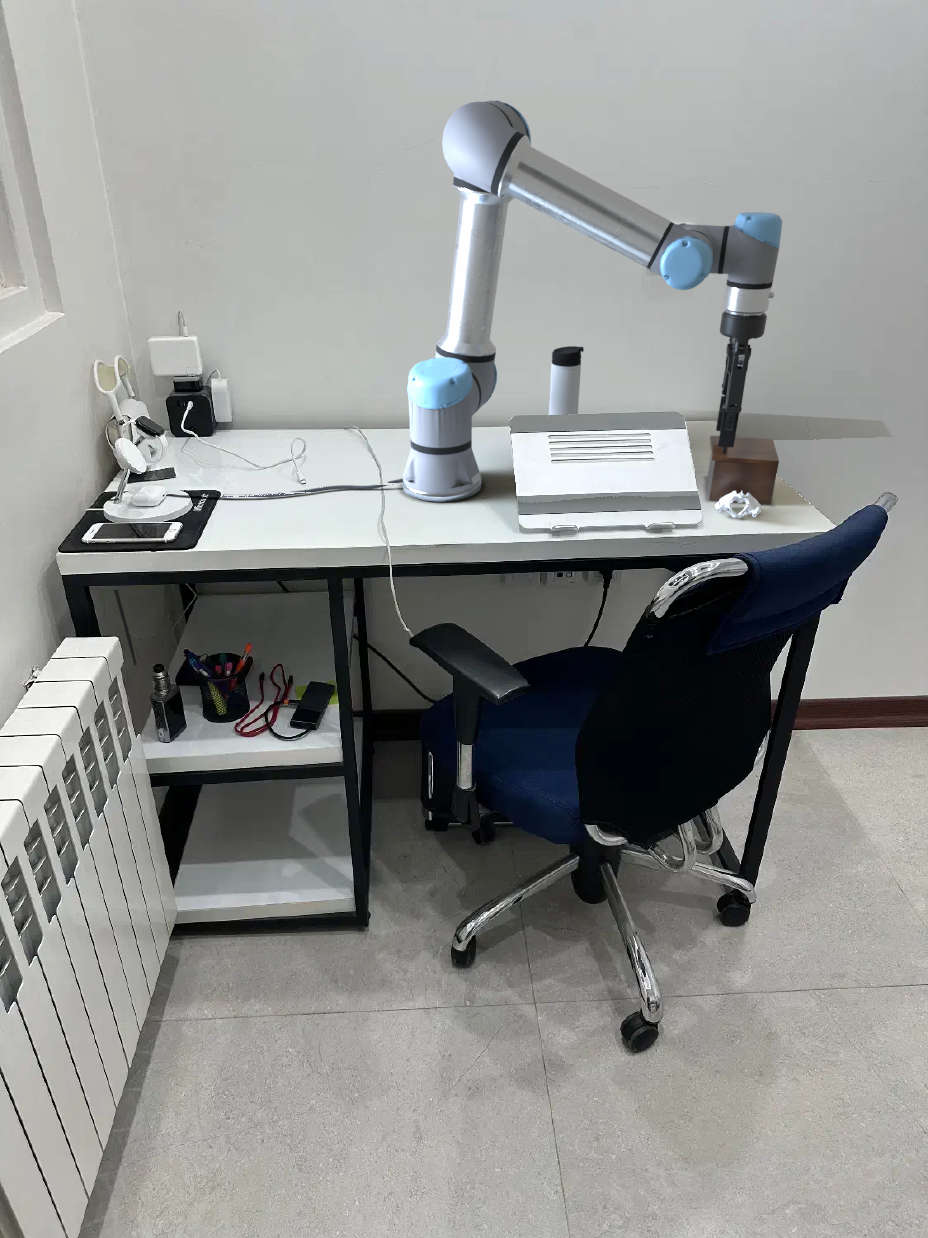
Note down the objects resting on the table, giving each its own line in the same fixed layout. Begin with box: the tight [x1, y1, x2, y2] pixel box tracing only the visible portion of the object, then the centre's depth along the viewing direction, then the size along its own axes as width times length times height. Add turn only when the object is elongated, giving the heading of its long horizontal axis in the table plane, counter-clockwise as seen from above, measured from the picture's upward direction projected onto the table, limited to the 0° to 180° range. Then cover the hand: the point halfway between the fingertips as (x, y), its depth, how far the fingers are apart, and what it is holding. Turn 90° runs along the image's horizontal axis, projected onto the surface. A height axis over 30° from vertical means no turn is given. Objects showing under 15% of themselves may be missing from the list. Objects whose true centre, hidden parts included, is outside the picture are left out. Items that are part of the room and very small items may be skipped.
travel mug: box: [548, 345, 585, 416], centre depth 186 cm, size 6×7×20 cm
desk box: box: [706, 454, 779, 506], centre depth 164 cm, size 11×12×8 cm
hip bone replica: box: [714, 491, 762, 519], centre depth 155 cm, size 8×4×7 cm
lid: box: [709, 402, 780, 466], centre depth 159 cm, size 12×12×8 cm
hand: (724, 438), depth 161 cm, fingers closed on lid, 8 cm apart
